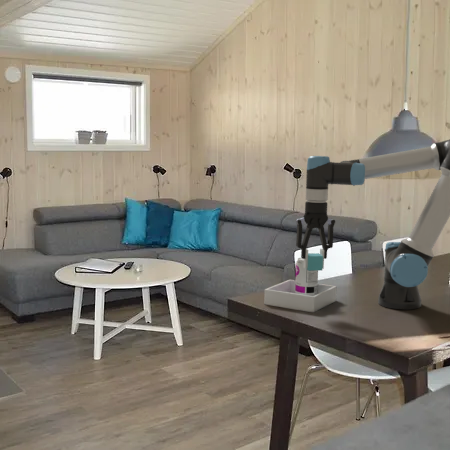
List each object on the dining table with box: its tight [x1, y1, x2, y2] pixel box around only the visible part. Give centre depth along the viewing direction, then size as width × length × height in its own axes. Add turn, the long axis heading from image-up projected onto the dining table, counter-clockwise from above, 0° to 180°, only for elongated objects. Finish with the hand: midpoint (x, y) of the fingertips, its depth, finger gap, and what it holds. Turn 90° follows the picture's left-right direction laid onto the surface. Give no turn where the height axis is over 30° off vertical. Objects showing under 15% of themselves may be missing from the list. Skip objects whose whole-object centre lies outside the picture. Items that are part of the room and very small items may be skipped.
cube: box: [307, 252, 323, 272], centre depth 220 cm, size 5×5×5 cm
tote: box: [263, 279, 338, 313], centre depth 232 cm, size 20×20×6 cm
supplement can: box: [295, 257, 319, 296], centre depth 234 cm, size 8×8×15 cm
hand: (313, 267), depth 220 cm, fingers closed on cube, 5 cm apart
